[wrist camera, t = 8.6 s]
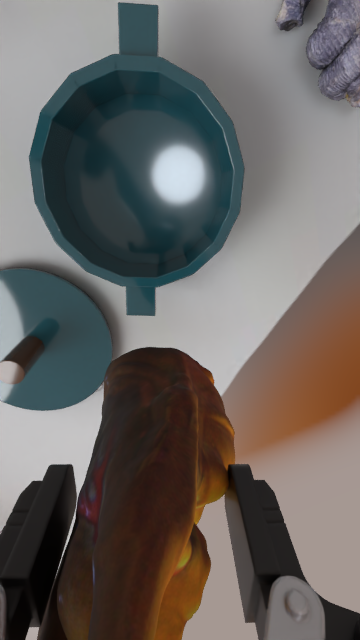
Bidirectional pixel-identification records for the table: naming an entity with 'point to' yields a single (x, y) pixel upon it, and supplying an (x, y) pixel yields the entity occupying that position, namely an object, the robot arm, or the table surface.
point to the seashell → (331, 46)
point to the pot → (137, 166)
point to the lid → (49, 341)
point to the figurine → (144, 504)
